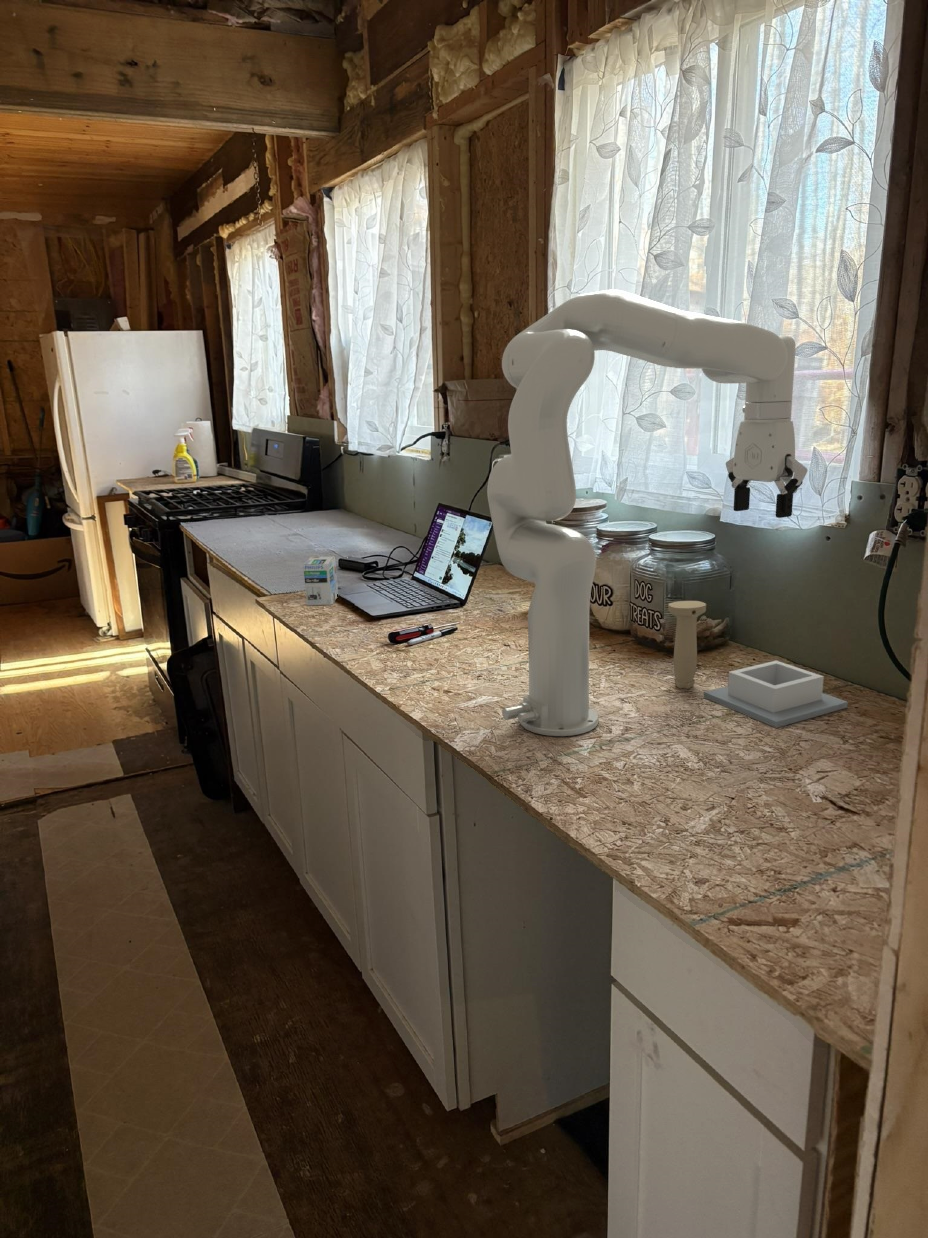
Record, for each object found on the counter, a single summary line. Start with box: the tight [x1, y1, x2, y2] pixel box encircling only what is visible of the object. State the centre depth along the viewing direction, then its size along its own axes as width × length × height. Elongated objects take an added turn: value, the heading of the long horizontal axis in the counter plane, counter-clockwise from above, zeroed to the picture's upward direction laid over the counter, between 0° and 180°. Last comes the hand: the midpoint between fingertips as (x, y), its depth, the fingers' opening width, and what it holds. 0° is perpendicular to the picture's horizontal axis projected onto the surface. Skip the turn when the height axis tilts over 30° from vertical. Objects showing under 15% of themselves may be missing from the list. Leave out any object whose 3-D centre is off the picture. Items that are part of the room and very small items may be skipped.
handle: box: [667, 600, 707, 690], centre depth 153 cm, size 5×6×15 cm
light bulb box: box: [303, 555, 339, 606], centre depth 223 cm, size 11×7×11 cm, turn 179°
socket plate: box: [703, 660, 849, 729], centre depth 145 cm, size 16×16×5 cm
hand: (761, 513), depth 152 cm, fingers open, 9 cm apart
